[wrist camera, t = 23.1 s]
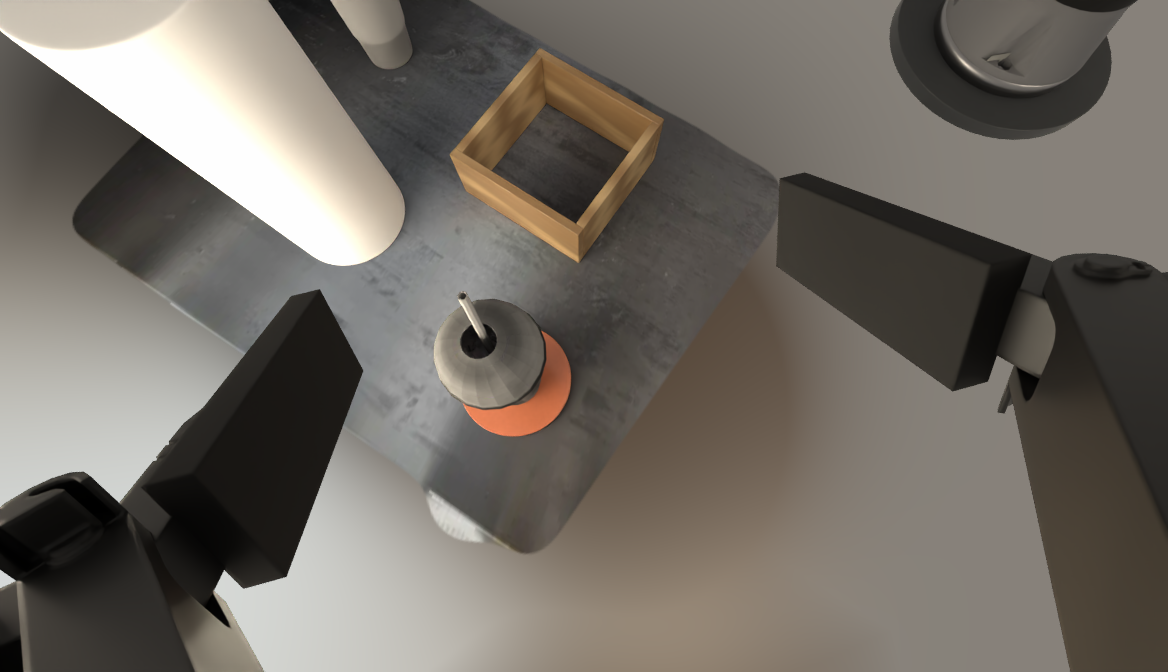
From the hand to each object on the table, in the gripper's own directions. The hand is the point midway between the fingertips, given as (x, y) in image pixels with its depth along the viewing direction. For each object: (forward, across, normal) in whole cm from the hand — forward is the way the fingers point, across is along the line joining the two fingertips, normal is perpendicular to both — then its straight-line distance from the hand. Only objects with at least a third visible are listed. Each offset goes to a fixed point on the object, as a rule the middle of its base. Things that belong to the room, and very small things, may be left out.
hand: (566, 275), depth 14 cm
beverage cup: (+23, -5, -19) cm, 30 cm away
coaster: (+23, -5, -19) cm, 30 cm away
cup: (+50, -10, +8) cm, 51 cm away
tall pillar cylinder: (+37, -17, -5) cm, 41 cm away
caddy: (+36, +4, -6) cm, 37 cm away
